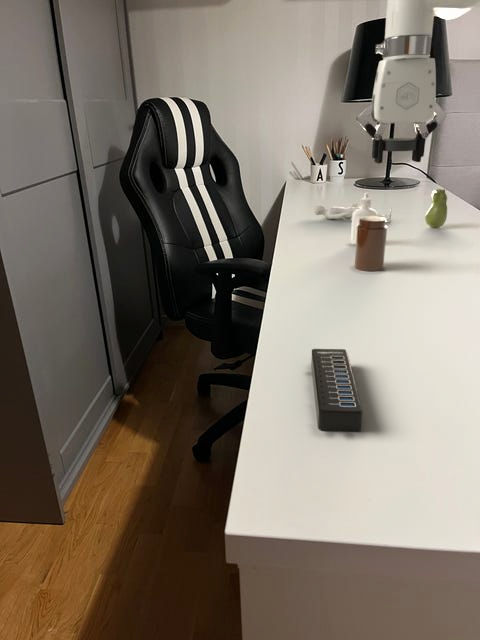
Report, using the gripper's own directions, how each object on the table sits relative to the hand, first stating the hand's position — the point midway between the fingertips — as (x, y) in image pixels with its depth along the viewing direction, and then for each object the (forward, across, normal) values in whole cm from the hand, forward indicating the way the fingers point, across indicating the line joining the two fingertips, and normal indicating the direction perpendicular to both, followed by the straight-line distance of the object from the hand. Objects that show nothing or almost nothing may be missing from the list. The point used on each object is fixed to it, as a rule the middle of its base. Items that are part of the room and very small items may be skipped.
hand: (397, 161), depth 91 cm
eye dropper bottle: (+21, 0, +23) cm, 31 cm away
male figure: (+21, +2, +51) cm, 55 cm away
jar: (+21, -3, +4) cm, 22 cm away
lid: (-3, 0, 0) cm, 3 cm away
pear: (+22, +23, +39) cm, 50 cm away
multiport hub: (+21, -18, -46) cm, 53 cm away
